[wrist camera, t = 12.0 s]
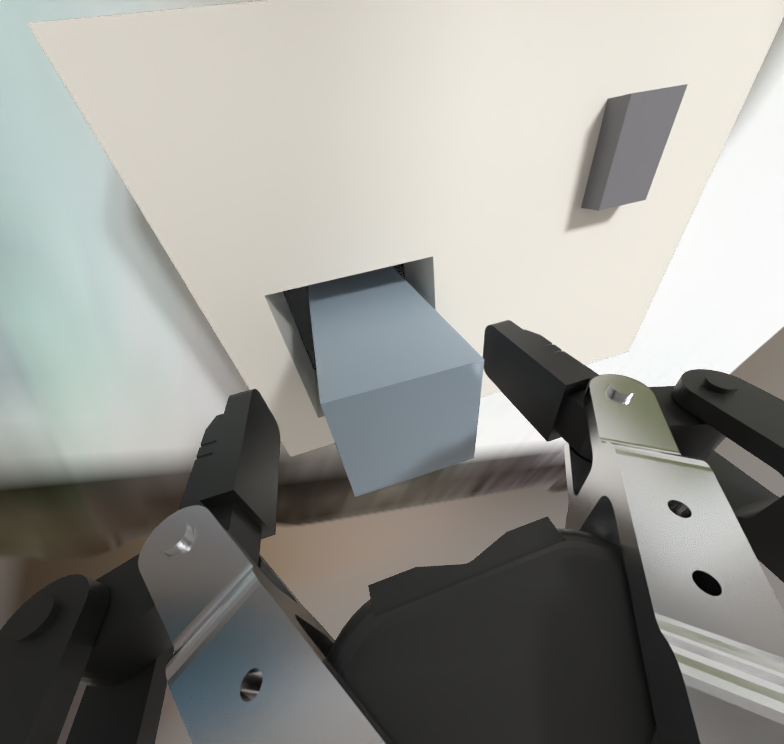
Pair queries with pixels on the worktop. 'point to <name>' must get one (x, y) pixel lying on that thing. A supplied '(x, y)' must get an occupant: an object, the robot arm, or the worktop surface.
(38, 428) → the worktop surface
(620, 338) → the outlet plate
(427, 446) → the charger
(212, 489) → the robot arm
